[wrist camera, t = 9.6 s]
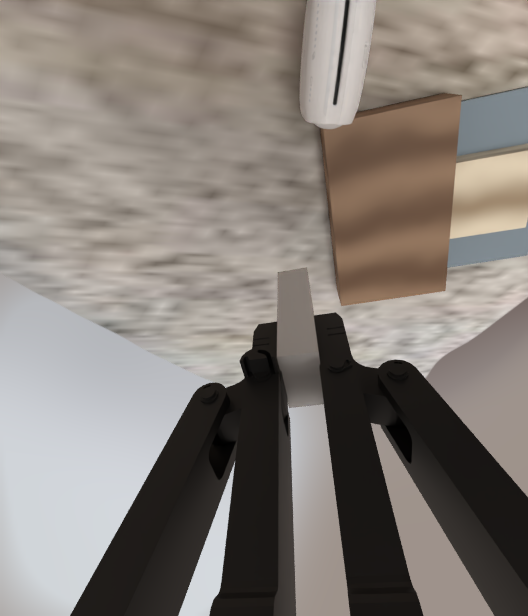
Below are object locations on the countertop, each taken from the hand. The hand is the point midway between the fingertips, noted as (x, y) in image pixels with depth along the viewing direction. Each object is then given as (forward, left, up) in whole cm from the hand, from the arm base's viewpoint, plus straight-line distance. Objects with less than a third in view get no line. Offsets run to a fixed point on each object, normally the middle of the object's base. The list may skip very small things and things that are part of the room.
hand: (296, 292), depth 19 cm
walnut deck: (+5, +10, -24) cm, 27 cm away
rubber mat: (+5, +22, -24) cm, 33 cm away
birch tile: (+5, +20, -24) cm, 32 cm away
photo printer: (-10, +5, -25) cm, 27 cm away
